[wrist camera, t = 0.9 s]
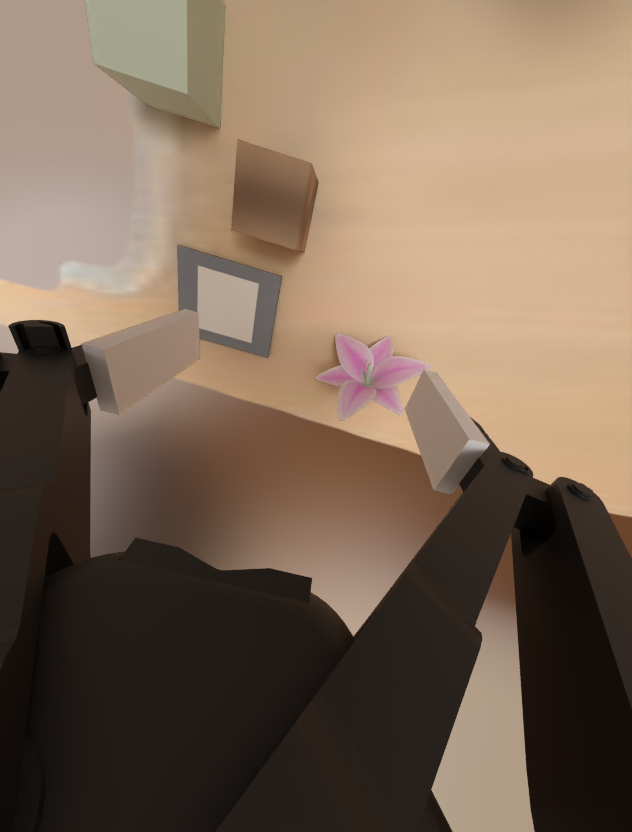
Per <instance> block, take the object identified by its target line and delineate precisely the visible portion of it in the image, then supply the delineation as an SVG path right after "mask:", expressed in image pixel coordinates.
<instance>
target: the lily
mask: <svg viewBox="0 0 632 832" xmlns="http://www.w3.org/2000/svg"><path fill="white" fill-rule="evenodd" d="M335 343H336V349H337V354H338V358H339V361H340V364H341V365H340V366H336V367H333V368H331V369H329V370H326V371H324V372H322V373H320V374H319V375H317V376H316V377H315V379H316V380H318V381H321V382H324V383H328V384H331V385H335V386H340V390H339V397H338V410H337V413H338V419H339V420H340V421H342V420H345V419H347V418H349V417H350V416H352V415H353V414H354V413H356V412H357V411H358V410H360V409H361V408H362V407H364V406H365V405H366V404H368V403H369V402H370V401H372V400H374V401H375V402H377V403H378V404H380V405H382V406H383V407H385V408H387V409H388V410H390V411H392V412H394V413H396V414H398V415H403V407H402V402H401V399H400V395H399V393H398V390H397V388H396V385H399V384H401V383H403V382H405V381H408V380H410V379H412V378H414V377H416V376H419V375H421V374H422V372H423V370H424V369H425V370H430V369H431V366H430V364H428V363H425V362H423V361H420V360H417V359H413V358H409V357H403V356H392V353H393V340H392V337H391V336H387V337H385V338H383V339H381V340H380V341H378V342H377V343H375V344H374V345H373V346H372V347H371V348H368V347H367V346H366V345H365V344H363V343H362V342H360V341H358V340H356V339H354V338H352V337H350V336H347V335H344V334H336V336H335Z"/></svg>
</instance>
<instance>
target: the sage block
mask: <svg viewBox="0 0 632 832" xmlns="http://www.w3.org/2000/svg"><path fill="white" fill-rule="evenodd" d="M85 4H86V12H87V20H88V28H89V35H90V43H91V50H92V58H93V64H95V65H96V66H98V67H99V68H100V69H101V70H102V71H104V72H105V73H106V74H108V75H109V76H110V77H111V78H113V79H114V80H115V81H117V82H118V83H119V84H120V85H122V86H123V87H124V88H125V89H127V90H128V91H129V92H131V93H132V94H133V95H134V96H136V97H137V98H138V99H140V100H141V101H142V102H143V103H145V104H146V105H149V106H152V107H155V108H158V109H161V110H164V111H167V112H170V113H173V114H177V115H180V116H183V117H186V118H189V119H192V120H195V121H198V122H201V123H204V124H207V125H211V126H214V127H217V128H220V123H221V99H222V74H223V49H224V25H225V5H224V3H223V0H85Z"/></svg>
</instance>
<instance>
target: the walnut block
mask: <svg viewBox="0 0 632 832" xmlns="http://www.w3.org/2000/svg"><path fill="white" fill-rule="evenodd" d="M317 187H318V180H317V177H316V174H315V172H314V169H313V166H312V163H309V162H306V161H303V160H300V159H297V158H294V157H290V156H287V155H284V154H281V153H278V152H275V151H272V150H269V149H266V148H263V147H260V146H257V145H254V144H251V143H248V142H245V141H241V140H238V142H237V156H236V171H235V185H234V200H233V215H232V229H231V231H235V232H238V233H241V234H244V235H248V236H251V237H254V238H257V239H261V240H264V241H267V242H270V243H274V244H277V245H280V246H283V247H286V248H290V249H293V250H297V251H302V252H305V247H306V242H307V237H308V232H309V227H310V222H311V217H312V212H313V207H314V202H315V197H316V192H317Z"/></svg>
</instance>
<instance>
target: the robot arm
mask: <svg viewBox="0 0 632 832" xmlns="http://www.w3.org/2000/svg"><path fill="white" fill-rule="evenodd" d="M9 329H10V331H11V333H12V335H13V338H14V340H15V343H16V345H17V347H18V350H19V352H18V354H12V353H0V832H452V830H451V828H450V826H449V824H448V822H447V820H446V818H445V816H444V814H443V812H442V810H441V808H440V806H439V804H438V802H437V800H436V798H435V797H434V794H433V792H432V790H431V788H432V786H433V783H434V780H435V777H436V774H437V771H438V768H439V765H440V763H441V760H442V757H443V754H444V751H445V748H446V745H447V742H448V739H449V737H450V734H451V731H452V728H453V725H454V722H455V719H456V717H457V714H458V711H459V708H460V705H461V702H462V699H463V696H464V693H465V690H466V688H467V685H468V682H469V679H470V676H471V673H472V670H473V668H474V665H475V662H476V659H477V656H478V653H479V650H480V646H481V642H482V634H481V632H480V631H479V630H478V629H477V628H476V627H475V624H476V621H477V618H478V616H479V613H480V610H481V608H482V605H483V603H484V600H485V598H486V595H487V593H488V590H489V588H490V585H491V583H492V580H493V577H494V575H495V572H496V570H497V567H498V565H499V562H500V560H501V557H502V554H503V552H504V549H505V547H506V544H507V542H508V539H509V537H510V534H511V539H512V553H513V569H514V582H515V584H514V585H515V600H516V615H517V630H518V646H519V660H520V676H521V690H522V706H523V722H524V737H525V753H526V766H527V767H526V768H527V778H528V787H529V796H530V806H531V813H532V819H533V824H534V830H535V832H632V559H631V557H630V555H629V553H628V551H627V549H626V547H625V545H624V543H623V541H622V539H621V537H620V535H619V533H618V531H617V529H616V527H615V525H614V523H613V521H612V519H611V518H610V516H609V513H608V511H607V510H606V508H605V506H604V504H603V502H602V501H601V499H600V498H599V497H598V496H597V495H596V494H595V493H593V491H592V490H591V489H590V488H587V486H585V485H583V484H581V483H578V482H576V481H574V480H571V479H569V478H564V477H559V478H557V479H556V480H555V481H554V482H553V483H552V484H551V485H549V484H546V483H544V482H542V481H539V480H537V479H535V478H533V472H532V470H531V469H530V468H529V467H528V466H527V465H526V464H525V463H524V462H522V461H521V460H519V459H518V458H516V457H514V456H512V455H510V454H507V453H504V452H500V451H499V449H498V448H497V447H496V445H495V444H494V443H493V441H492V440H491V439H490V438H489V436H488V435H487V434H486V433H485V431H484V430H483V428H482V427H481V426H480V424H478V423H477V422H476V421H475V420H473V419H472V418H470V417H469V415H468V414H467V412H466V411H465V410H464V408H463V407H462V406H461V404H460V403H459V402H458V400H457V399H456V398H455V396H454V395H453V394H452V392H451V391H450V390H449V388H448V387H447V385H446V384H445V383H444V381H443V380H442V379H441V377H440V376H439V375H438V373H437V372H433V371H429V370H425V369H424V370H423V372H422V374H421V376H420V378H419V381H418V383H417V385H416V387H415V389H414V391H413V393H412V395H411V397H410V399H409V401H408V404H407V406H406V408H405V411H406V414H407V417H408V420H409V422H410V425H411V428H412V431H413V434H414V436H415V439H416V442H417V445H418V448H419V450H420V453H421V456H422V459H423V461H424V464H425V467H426V470H427V473H428V475H429V478H430V481H431V484H432V486H433V489H434V490H435V491H438V492H442V493H446V494H452V493H453V492H454V491H455V490H456V488H457V487H458V486H459V484H460V486H461V488H462V490H463V493H462V495H461V496H460V497H459V499H458V500H457V501H456V502H455V504H454V505H453V506H452V507H451V509H450V510H449V512H448V513H447V514H446V516H445V517H444V519H443V520H442V521H441V522H440V524H439V525H438V526H437V528H436V529H435V530H434V531H433V533H432V534H431V536H430V537H429V538H428V539H427V541H426V542H425V544H424V545H423V546H422V547H421V549H420V550H419V551H418V553H417V554H416V555H415V557H414V558H413V559H412V561H411V562H410V563H409V564H408V566H407V567H406V569H405V570H404V571H403V572H402V574H401V575H400V576H399V578H398V579H397V580H396V582H395V583H394V585H393V586H392V587H391V588H390V590H389V591H388V592H387V594H386V595H385V596H384V598H383V599H382V600H381V601H380V603H379V604H378V605H377V607H376V608H375V609H374V611H373V612H372V614H371V615H370V616H369V617H368V619H367V620H366V621H365V623H364V624H363V625H362V626H361V628H360V629H359V630H358V632H357V633H356V634H355V635H354V637H353V635H352V634H351V632H350V631H349V629H348V628H347V626H346V625H345V623H344V622H343V620H342V619H341V618H340V617H339V615H338V614H337V613H336V612H335V611H334V610H333V609H332V608H331V607H330V606H329V605H328V604H327V603H326V602H324V601H323V600H322V599H320V598H319V597H318V596H316V595H314V594H313V593H311V592H310V591H311V583H312V578H309V577H304V576H301V575H296V574H292V573H288V572H283V571H278V570H274V569H270V568H266V569H246V570H225V571H223V570H218V569H216V568H214V567H212V566H210V565H208V564H207V563H205V562H203V561H201V560H200V559H198V558H196V557H195V556H193V555H191V554H189V553H188V552H186V551H184V550H183V549H181V548H179V547H174V546H170V545H165V544H161V543H157V542H152V541H148V540H143V539H139V538H135V540H134V541H133V542H132V543H131V545H130V546H129V547H128V549H127V550H126V551H125V552H118V553H111V554H105V555H102V556H97V557H93V558H91V555H90V461H91V460H90V459H91V457H90V456H91V455H90V454H91V453H90V452H91V450H90V449H91V438H90V437H91V410H90V406H89V403H88V402H89V401H91V400H93V399H95V398H96V397H97V400H98V404H99V407H100V410H101V411H106V412H109V413H114V414H118V415H120V414H121V413H123V412H124V411H126V410H127V409H128V408H130V407H131V406H133V405H134V404H135V403H137V402H138V401H140V400H141V399H143V398H144V397H145V396H147V395H148V394H150V393H151V392H153V391H154V390H156V389H157V388H158V387H160V386H161V385H163V384H164V383H166V382H167V381H168V380H170V379H171V378H173V377H174V376H176V375H177V374H179V373H180V372H181V371H183V370H184V369H186V368H187V367H189V366H190V365H191V364H193V363H194V362H196V361H197V360H199V359H200V343H199V312H195V311H191V310H187V309H184V310H181V311H178V312H175V313H172V314H169V315H166V316H163V317H160V318H157V319H154V320H151V321H148V322H145V323H142V324H139V325H136V326H133V327H130V328H127V329H124V330H121V331H118V332H115V333H112V334H109V335H106V336H103V337H100V338H97V339H94V340H91V341H88V342H85V343H82V345H79V346H76V347H73V348H71V345H70V342H69V339H68V335H67V332H66V329H65V326H64V325H63V324H61V323H58V322H53V321H45V320H28V321H19V322H15V323H12V324H10V325H9Z"/></svg>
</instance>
